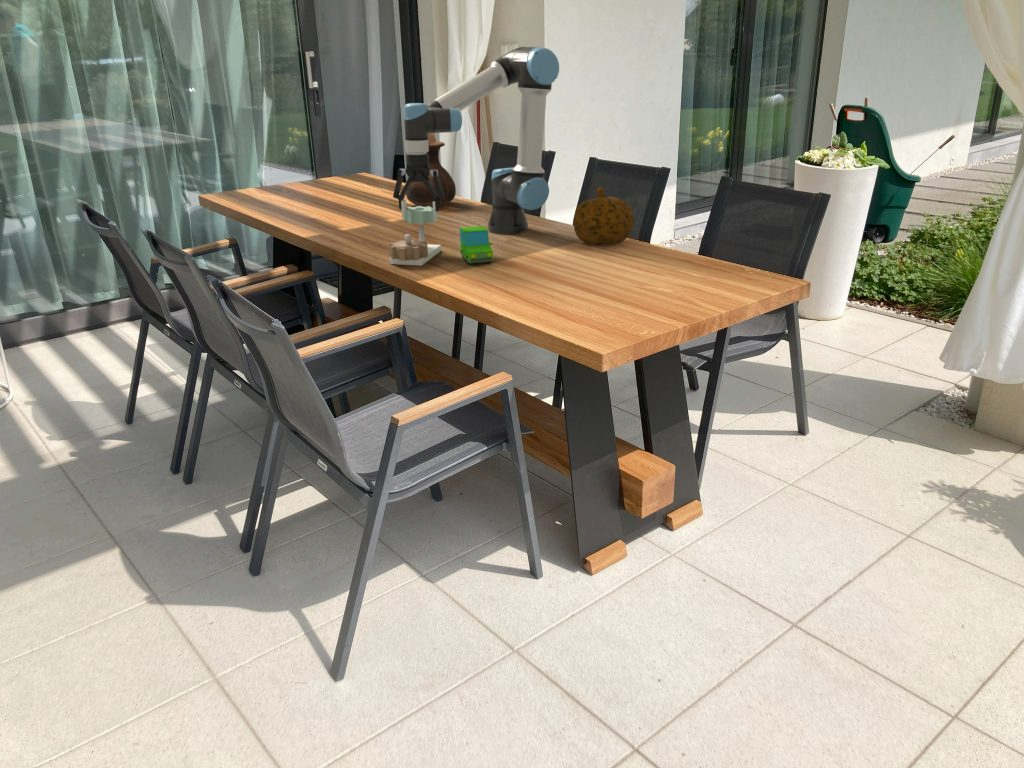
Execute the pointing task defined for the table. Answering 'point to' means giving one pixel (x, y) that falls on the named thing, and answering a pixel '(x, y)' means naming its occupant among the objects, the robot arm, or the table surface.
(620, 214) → the decorative pumpkin
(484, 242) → the toy car
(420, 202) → the brown wooden bulbous vase
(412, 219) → the loose gear
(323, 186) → the table surface
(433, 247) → the gear board
